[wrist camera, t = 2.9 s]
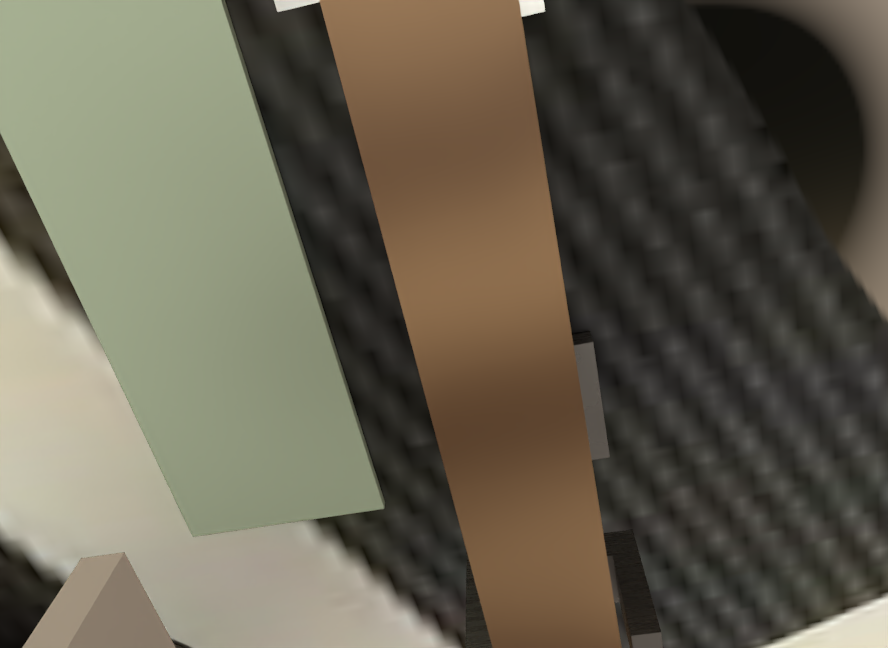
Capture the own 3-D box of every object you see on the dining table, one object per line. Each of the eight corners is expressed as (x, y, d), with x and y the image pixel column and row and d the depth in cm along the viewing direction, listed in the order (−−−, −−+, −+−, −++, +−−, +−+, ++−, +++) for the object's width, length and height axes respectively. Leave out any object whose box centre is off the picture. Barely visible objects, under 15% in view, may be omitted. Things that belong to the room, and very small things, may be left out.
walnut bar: (612, 636, 24) (643, 789, 20) (522, 646, 25) (533, 799, 20) (468, -245, 14) (464, -341, 9) (317, -203, 14) (245, -276, 10)
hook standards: (606, 444, 34) (683, 726, 22) (479, 463, 35) (482, 747, 22) (513, -191, 23) (559, -363, 11) (333, -143, 24) (181, -252, 12)
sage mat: (385, 503, 36) (384, 508, 36) (195, 531, 37) (192, 537, 37) (174, -157, 24) (170, -158, 24) (-94, -82, 25) (-102, -82, 25)
